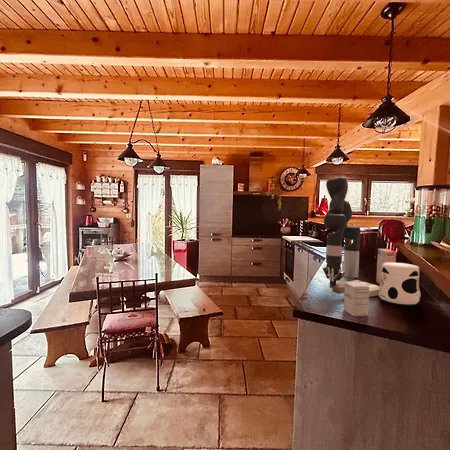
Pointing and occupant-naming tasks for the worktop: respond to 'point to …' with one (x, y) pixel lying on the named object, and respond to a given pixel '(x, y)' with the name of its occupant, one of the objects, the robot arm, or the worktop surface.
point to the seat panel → (372, 288)
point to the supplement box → (356, 298)
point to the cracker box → (384, 261)
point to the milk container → (400, 284)
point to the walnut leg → (338, 289)
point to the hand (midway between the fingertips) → (332, 288)
